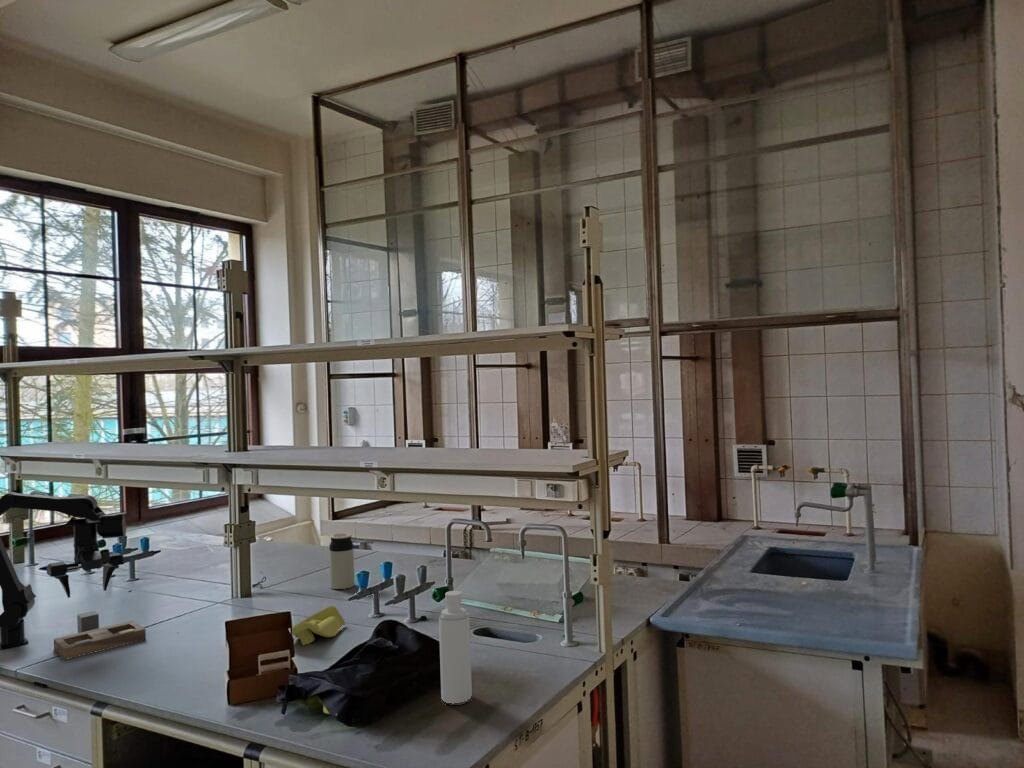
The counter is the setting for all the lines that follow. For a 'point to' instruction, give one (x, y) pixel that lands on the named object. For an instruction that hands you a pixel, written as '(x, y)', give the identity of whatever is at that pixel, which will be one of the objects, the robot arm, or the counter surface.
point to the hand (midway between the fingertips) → (87, 594)
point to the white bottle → (455, 650)
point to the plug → (87, 621)
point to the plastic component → (319, 625)
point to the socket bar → (99, 639)
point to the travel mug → (341, 561)
